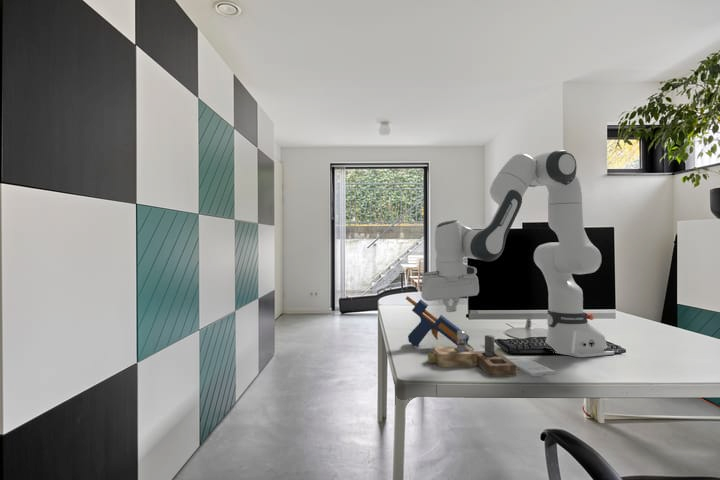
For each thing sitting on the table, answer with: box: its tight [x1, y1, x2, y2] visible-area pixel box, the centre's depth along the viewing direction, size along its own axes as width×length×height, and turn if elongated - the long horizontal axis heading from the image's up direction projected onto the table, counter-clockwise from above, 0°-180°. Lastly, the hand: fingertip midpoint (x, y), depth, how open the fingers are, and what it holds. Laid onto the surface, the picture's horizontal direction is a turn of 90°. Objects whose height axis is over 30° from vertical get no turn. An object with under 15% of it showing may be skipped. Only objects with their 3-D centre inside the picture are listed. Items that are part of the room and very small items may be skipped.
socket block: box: [432, 345, 478, 368], centre depth 134 cm, size 12×9×4 cm
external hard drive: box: [509, 358, 557, 377], centre depth 127 cm, size 2×8×12 cm
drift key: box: [427, 351, 437, 365], centre depth 134 cm, size 8×3×3 cm, turn 93°
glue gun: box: [405, 295, 475, 351], centre depth 153 cm, size 6×31×15 cm
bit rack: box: [473, 334, 517, 377], centre depth 129 cm, size 8×15×9 cm, turn 3°
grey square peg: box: [456, 330, 467, 352], centre depth 134 cm, size 3×3×10 cm
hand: (451, 311), depth 134 cm, fingers closed
